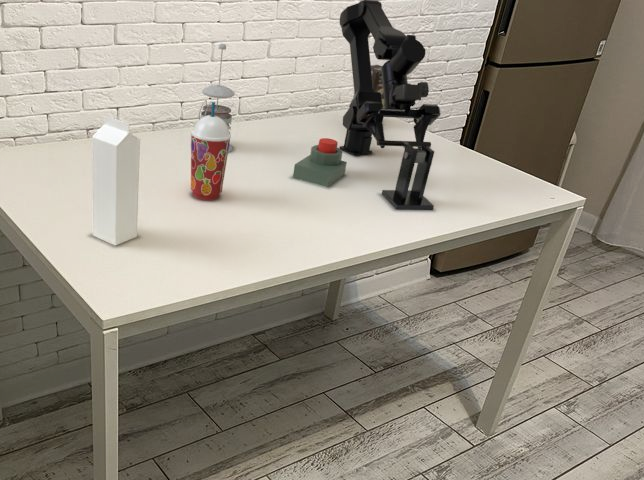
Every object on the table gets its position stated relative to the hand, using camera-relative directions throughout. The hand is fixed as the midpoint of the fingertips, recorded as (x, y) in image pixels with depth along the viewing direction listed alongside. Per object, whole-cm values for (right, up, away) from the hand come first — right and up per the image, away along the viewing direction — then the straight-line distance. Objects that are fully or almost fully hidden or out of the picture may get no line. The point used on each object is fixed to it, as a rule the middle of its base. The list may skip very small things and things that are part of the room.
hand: (401, 148), depth 171 cm
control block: (-18, -5, +7) cm, 20 cm away
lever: (+1, -3, -4) cm, 5 cm away
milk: (-62, -25, -31) cm, 74 cm away
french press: (-44, +5, +18) cm, 48 cm away
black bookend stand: (+1, -13, -2) cm, 13 cm away
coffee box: (+1, +21, +50) cm, 54 cm away
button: (-17, +1, +6) cm, 18 cm away
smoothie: (-45, -13, -10) cm, 48 cm away
